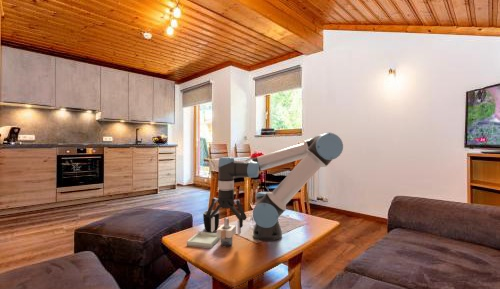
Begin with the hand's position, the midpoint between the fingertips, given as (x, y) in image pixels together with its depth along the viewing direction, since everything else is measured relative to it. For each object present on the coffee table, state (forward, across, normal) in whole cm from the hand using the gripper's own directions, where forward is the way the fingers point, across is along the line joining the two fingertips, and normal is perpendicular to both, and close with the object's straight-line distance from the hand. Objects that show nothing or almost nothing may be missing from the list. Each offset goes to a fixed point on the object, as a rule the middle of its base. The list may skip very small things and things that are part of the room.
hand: (225, 232), depth 120 cm
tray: (+6, +12, -1) cm, 13 cm away
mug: (+6, +16, -17) cm, 24 cm away
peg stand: (+6, 0, 0) cm, 6 cm away
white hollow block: (+1, 0, 0) cm, 1 cm away
